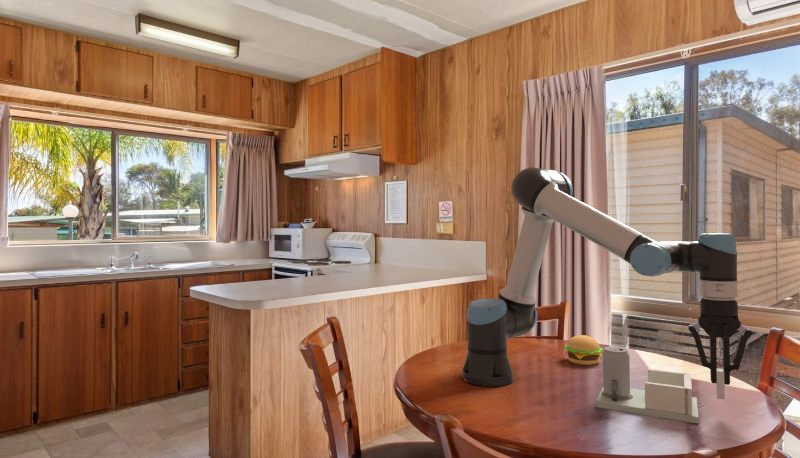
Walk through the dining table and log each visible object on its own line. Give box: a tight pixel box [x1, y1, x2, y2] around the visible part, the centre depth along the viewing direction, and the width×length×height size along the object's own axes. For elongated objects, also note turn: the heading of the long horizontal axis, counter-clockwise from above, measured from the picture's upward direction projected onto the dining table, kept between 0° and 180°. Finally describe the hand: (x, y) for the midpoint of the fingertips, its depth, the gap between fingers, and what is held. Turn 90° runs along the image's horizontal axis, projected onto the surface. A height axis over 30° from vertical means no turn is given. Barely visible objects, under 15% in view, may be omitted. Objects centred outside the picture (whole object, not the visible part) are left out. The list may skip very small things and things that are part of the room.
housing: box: [644, 368, 693, 415], centre depth 122 cm, size 10×14×6 cm
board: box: [595, 387, 700, 425], centre depth 124 cm, size 22×14×2 cm, turn 60°
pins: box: [612, 380, 618, 401], centre depth 127 cm, size 1×10×5 cm, turn 150°
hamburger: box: [564, 334, 603, 366], centre depth 165 cm, size 12×12×9 cm
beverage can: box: [602, 346, 631, 398], centre depth 127 cm, size 6×6×12 cm
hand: (720, 397), depth 116 cm, fingers closed
